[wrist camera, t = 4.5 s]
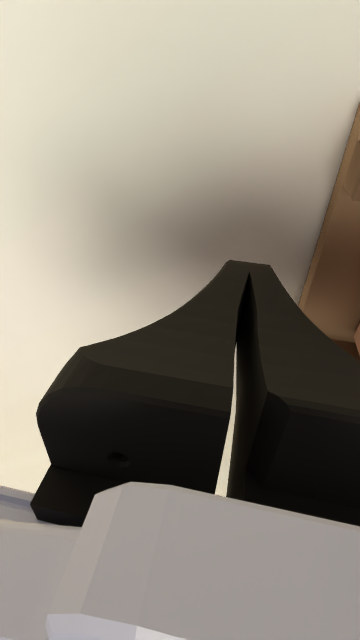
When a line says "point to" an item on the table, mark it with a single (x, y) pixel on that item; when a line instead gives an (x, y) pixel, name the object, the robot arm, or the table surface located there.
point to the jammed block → (357, 338)
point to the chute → (338, 257)
